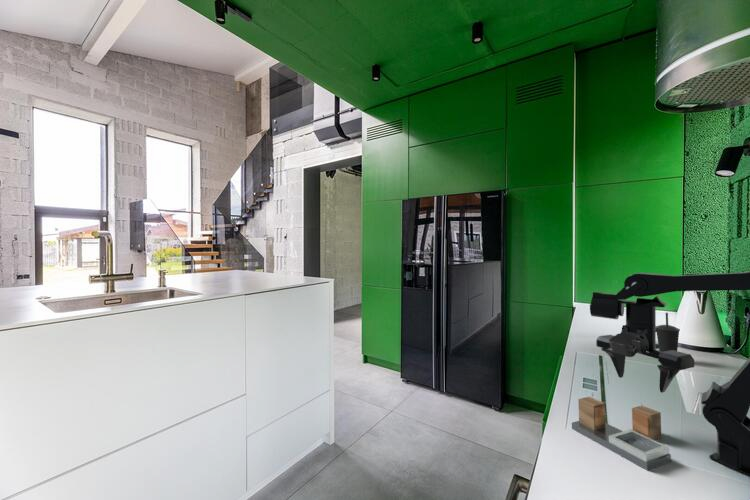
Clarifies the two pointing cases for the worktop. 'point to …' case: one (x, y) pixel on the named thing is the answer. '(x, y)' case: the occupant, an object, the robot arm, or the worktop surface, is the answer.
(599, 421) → the brown wooden block
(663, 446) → the grey base plate
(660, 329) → the drinking cup
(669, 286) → the robot arm
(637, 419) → the tan wooden block
